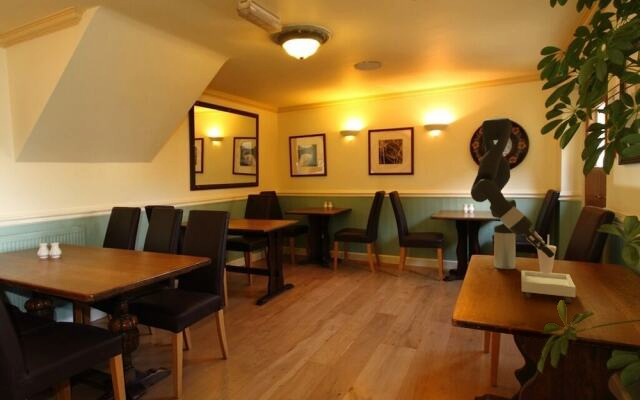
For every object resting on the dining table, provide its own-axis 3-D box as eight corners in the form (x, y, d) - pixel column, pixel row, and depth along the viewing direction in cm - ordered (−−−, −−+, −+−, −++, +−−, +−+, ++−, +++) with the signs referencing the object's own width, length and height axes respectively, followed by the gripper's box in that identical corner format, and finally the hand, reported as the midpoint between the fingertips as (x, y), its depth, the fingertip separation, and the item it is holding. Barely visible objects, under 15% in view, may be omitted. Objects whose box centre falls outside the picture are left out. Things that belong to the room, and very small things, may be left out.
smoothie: (559, 274, 133) (560, 236, 132) (539, 274, 134) (540, 235, 134) (551, 270, 139) (552, 233, 139) (533, 269, 141) (533, 233, 140)
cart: (521, 285, 149) (521, 270, 149) (568, 290, 142) (569, 274, 141) (521, 299, 133) (521, 281, 133) (575, 305, 126) (575, 287, 125)
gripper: (524, 216, 133) (562, 251, 128) (523, 212, 146) (558, 244, 141) (507, 230, 136) (544, 265, 131) (508, 225, 148) (542, 257, 143)
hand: (551, 254), depth 136 cm, fingers closed on smoothie, 6 cm apart
